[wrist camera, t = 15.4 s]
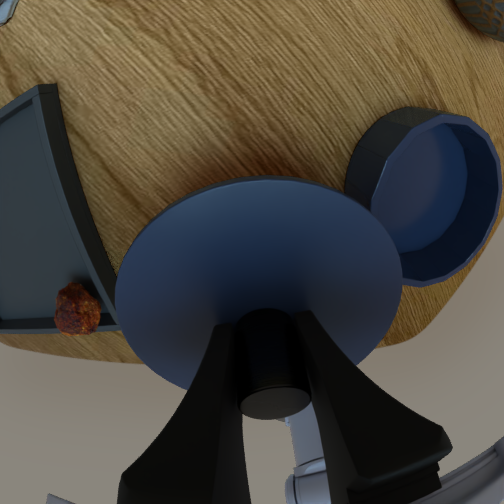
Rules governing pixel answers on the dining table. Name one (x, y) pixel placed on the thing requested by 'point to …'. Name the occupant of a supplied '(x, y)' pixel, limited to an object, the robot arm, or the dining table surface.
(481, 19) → the vase
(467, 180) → the tin
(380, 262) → the tin lid
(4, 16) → the donut
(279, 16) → the dining table surface
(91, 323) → the meatball
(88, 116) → the dining table surface
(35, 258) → the tray
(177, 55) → the dining table surface
